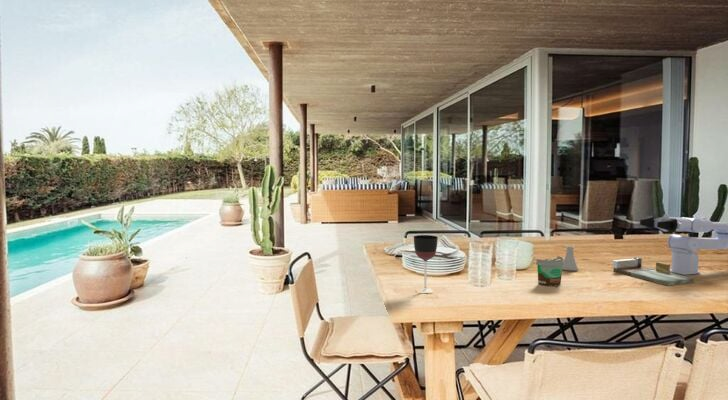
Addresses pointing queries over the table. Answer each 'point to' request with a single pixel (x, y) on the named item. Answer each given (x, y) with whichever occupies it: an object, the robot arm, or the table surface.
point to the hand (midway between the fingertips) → (649, 223)
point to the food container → (550, 271)
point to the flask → (570, 260)
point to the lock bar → (627, 263)
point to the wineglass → (425, 251)
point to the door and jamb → (656, 274)
